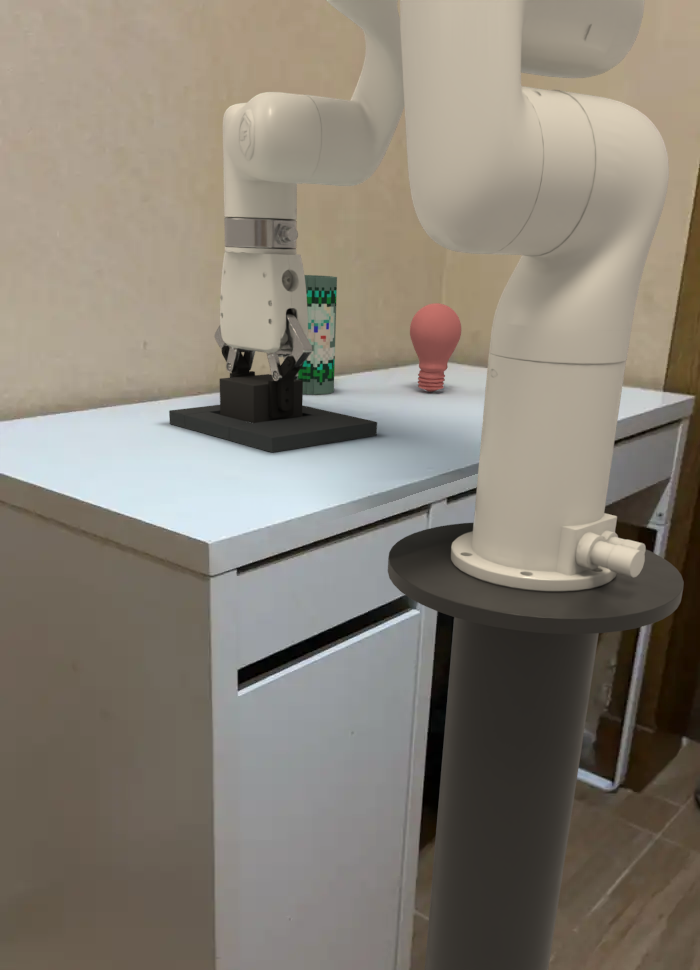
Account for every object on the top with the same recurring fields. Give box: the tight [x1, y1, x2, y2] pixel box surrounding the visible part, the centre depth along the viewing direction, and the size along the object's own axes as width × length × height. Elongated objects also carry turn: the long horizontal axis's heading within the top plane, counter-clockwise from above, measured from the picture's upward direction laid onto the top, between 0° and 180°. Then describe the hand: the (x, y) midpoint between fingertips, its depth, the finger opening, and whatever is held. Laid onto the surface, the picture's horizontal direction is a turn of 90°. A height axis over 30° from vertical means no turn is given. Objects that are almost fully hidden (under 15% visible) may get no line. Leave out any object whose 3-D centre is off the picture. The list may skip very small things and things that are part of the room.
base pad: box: [168, 404, 378, 453], centre depth 104 cm, size 18×15×2 cm
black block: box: [219, 373, 304, 423], centre depth 104 cm, size 6×7×4 cm
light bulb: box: [409, 302, 462, 393], centre depth 130 cm, size 7×7×12 cm
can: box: [297, 274, 338, 396], centre depth 127 cm, size 6×6×15 cm
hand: (261, 410), depth 105 cm, fingers closed on black block, 6 cm apart
